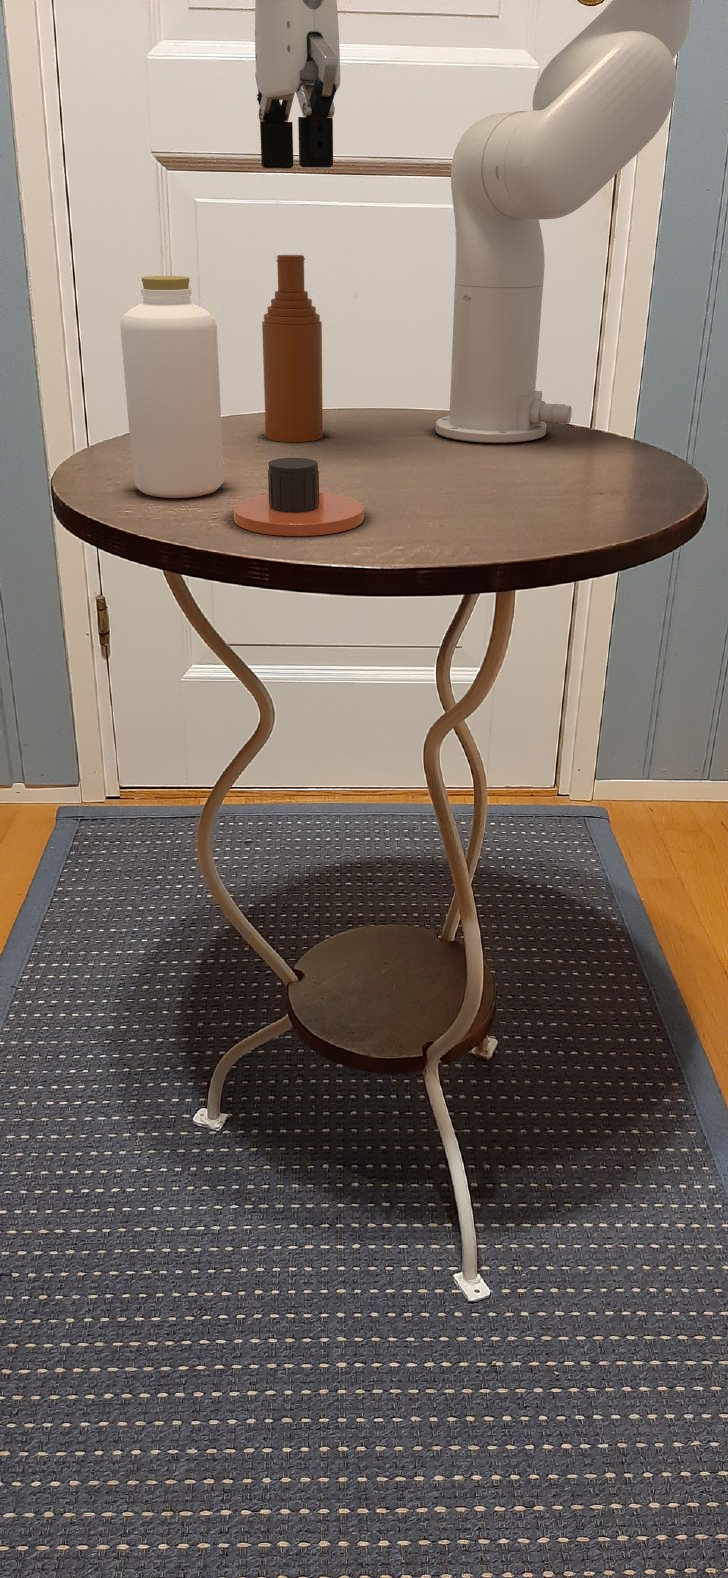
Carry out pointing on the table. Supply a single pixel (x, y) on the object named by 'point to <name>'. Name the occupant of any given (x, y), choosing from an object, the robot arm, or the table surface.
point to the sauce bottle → (292, 359)
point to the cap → (293, 485)
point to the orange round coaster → (299, 516)
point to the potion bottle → (172, 391)
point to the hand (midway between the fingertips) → (296, 167)
